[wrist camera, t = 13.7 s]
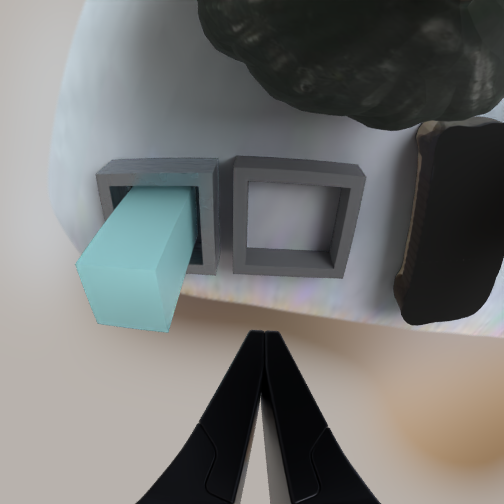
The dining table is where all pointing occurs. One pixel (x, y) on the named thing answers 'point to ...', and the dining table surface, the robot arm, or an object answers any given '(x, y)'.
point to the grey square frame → (297, 173)
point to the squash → (368, 55)
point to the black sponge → (454, 221)
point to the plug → (141, 258)
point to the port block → (171, 174)
